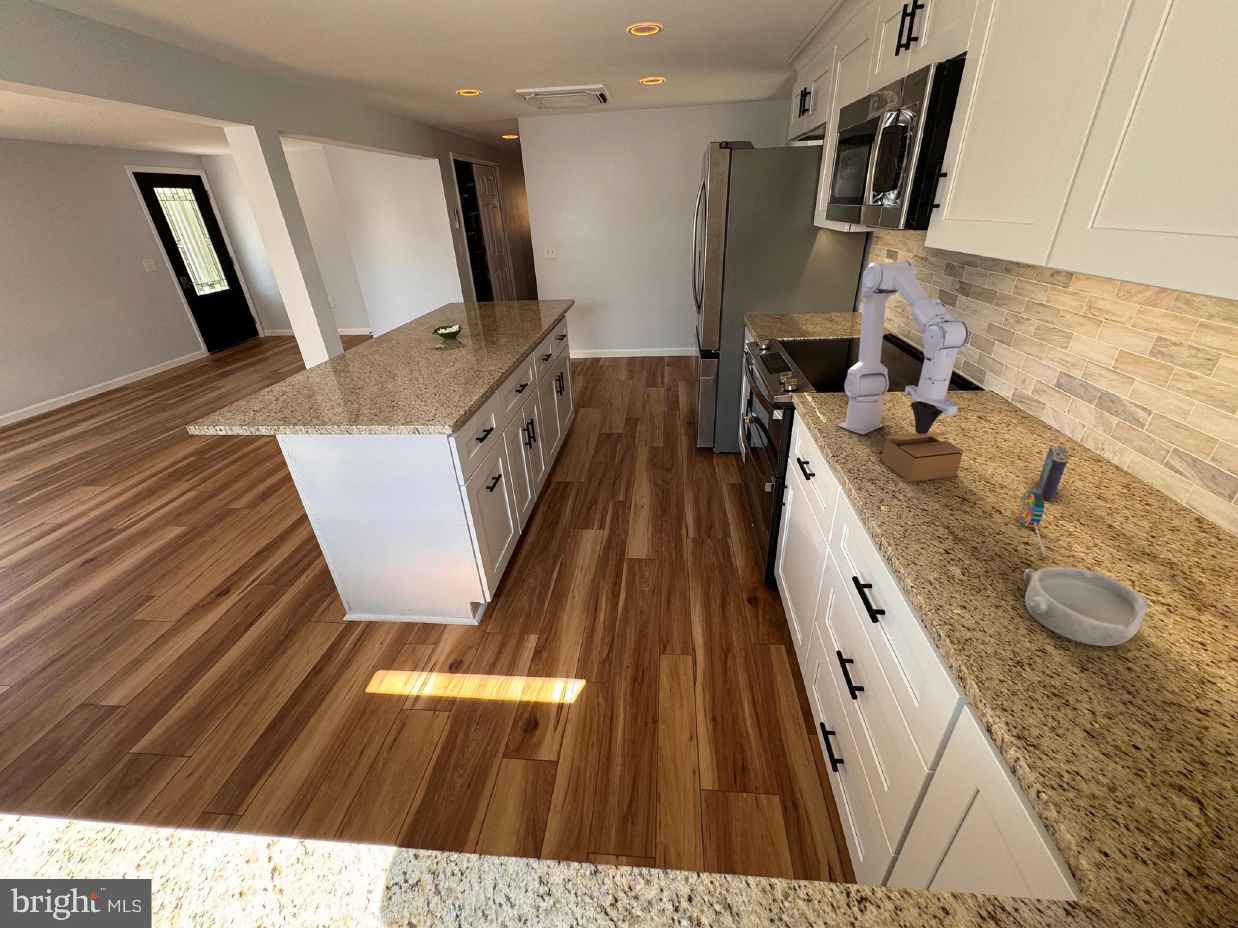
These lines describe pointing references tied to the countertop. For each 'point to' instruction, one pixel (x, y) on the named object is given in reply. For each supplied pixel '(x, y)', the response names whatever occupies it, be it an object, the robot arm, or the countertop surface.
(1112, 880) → the countertop surface
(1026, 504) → the lollipop
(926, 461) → the carton
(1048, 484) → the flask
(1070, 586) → the dish
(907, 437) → the flap
